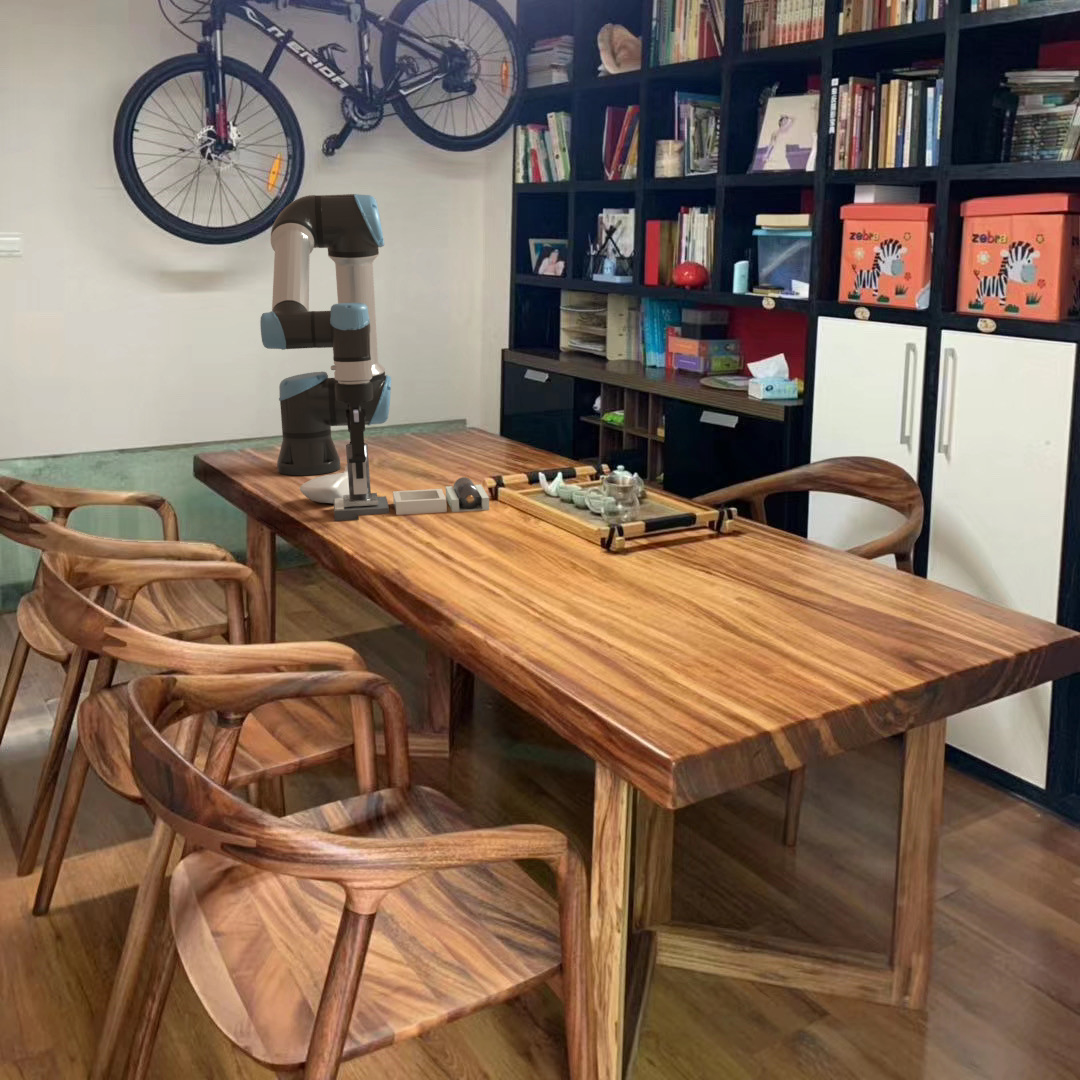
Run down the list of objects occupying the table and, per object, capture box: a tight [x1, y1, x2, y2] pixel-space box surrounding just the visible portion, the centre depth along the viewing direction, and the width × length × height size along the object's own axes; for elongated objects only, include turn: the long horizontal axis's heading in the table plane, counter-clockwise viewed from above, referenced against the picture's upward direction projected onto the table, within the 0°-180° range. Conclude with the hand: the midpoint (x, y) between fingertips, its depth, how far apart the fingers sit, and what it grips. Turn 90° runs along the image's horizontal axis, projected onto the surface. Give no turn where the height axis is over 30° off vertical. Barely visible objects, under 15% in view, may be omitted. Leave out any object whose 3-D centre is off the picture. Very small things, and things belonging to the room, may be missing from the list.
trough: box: [445, 484, 490, 513], centre depth 251 cm, size 13×8×3 cm, turn 10°
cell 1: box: [345, 442, 372, 500], centre depth 247 cm, size 4×4×12 cm
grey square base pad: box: [333, 495, 390, 522], centre depth 249 cm, size 11×11×2 cm
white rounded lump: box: [299, 464, 349, 505], centre depth 260 cm, size 10×11×12 cm
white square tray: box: [392, 488, 448, 516], centre depth 249 cm, size 10×10×4 cm
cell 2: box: [453, 477, 481, 509], centre depth 251 cm, size 12×4×4 cm, turn 10°
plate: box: [343, 492, 379, 507], centre depth 248 cm, size 7×7×1 cm
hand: (359, 487), depth 248 cm, fingers open, 11 cm apart
